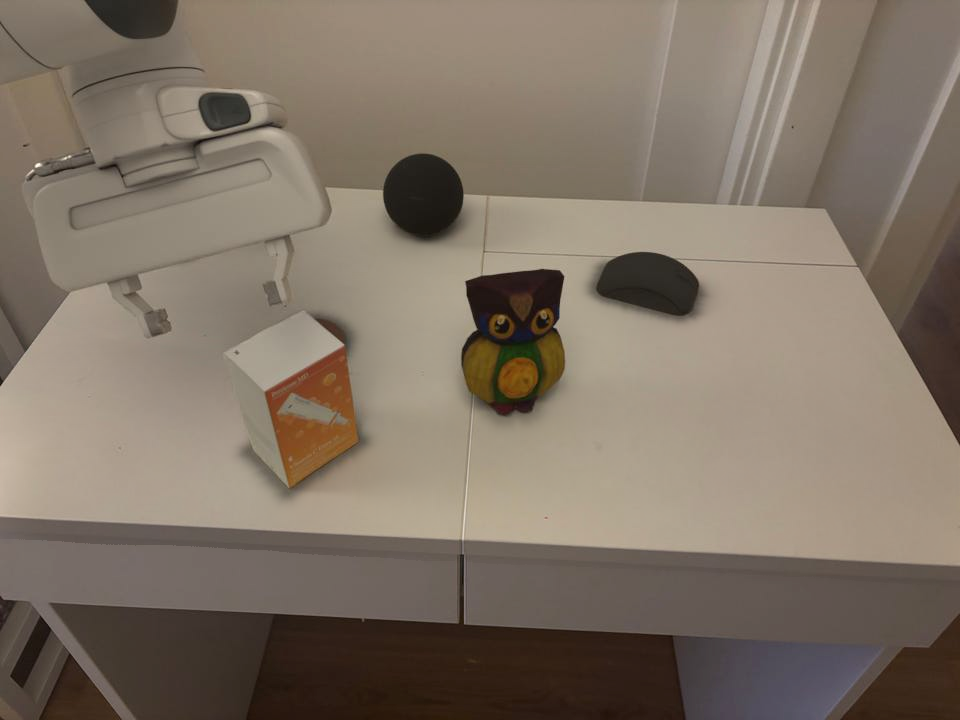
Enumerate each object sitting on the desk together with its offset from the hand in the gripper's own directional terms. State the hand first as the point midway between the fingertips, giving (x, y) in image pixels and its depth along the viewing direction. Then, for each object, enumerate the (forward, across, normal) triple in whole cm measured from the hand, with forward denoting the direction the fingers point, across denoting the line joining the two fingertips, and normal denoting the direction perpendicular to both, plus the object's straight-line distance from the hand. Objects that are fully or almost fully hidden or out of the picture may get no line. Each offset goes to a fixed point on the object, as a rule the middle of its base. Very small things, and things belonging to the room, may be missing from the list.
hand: (220, 319), depth 55 cm
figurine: (+17, +19, +18) cm, 31 cm away
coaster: (+7, 0, +24) cm, 26 cm away
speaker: (0, +14, +43) cm, 45 cm away
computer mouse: (+13, +38, +32) cm, 51 cm away
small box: (+15, 0, +12) cm, 20 cm away
